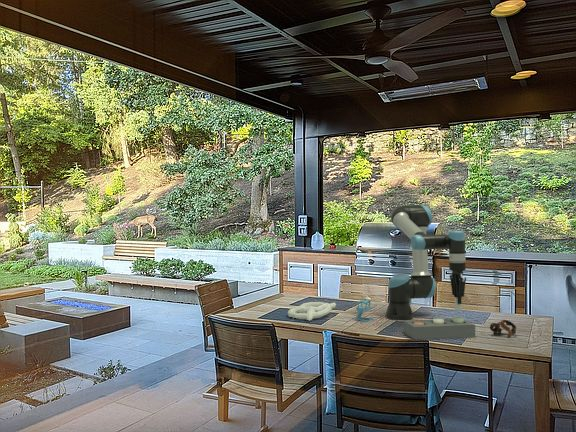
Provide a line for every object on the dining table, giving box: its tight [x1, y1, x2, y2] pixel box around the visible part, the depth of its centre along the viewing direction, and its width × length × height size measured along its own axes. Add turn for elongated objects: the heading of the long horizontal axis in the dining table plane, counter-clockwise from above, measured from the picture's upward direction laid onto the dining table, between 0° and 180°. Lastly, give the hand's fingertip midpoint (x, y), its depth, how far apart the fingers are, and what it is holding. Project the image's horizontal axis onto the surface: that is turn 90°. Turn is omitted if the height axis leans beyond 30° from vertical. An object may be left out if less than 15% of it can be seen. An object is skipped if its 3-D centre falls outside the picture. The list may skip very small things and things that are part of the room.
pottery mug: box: [489, 319, 517, 338], centre depth 224 cm, size 12×10×8 cm
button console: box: [403, 318, 476, 340], centre depth 227 cm, size 14×30×6 cm, turn 96°
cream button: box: [432, 317, 445, 324], centre depth 227 cm, size 5×5×3 cm
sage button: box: [452, 317, 465, 323], centre depth 228 cm, size 5×5×3 cm
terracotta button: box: [413, 322, 424, 325], centre depth 226 cm, size 5×5×3 cm
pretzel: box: [287, 301, 337, 322], centre depth 275 cm, size 28×24×6 cm
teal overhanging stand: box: [355, 298, 374, 323], centre depth 262 cm, size 8×8×12 cm
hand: (458, 310), depth 227 cm, fingers closed
